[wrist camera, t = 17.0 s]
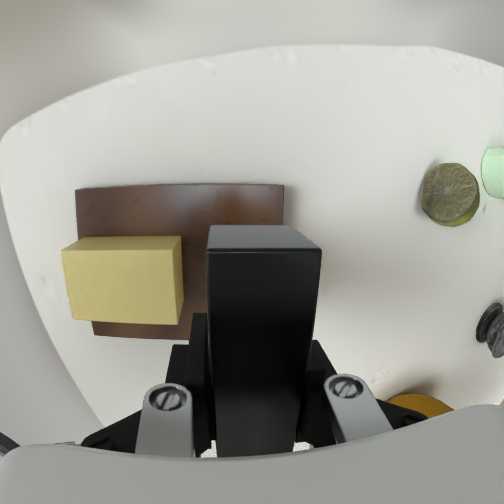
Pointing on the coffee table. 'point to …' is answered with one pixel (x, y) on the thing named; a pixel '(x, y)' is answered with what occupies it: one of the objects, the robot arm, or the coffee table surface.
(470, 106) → the coffee table surface
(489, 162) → the candle
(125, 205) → the butter board
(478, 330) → the black chess piece
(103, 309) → the butter block
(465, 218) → the lime
